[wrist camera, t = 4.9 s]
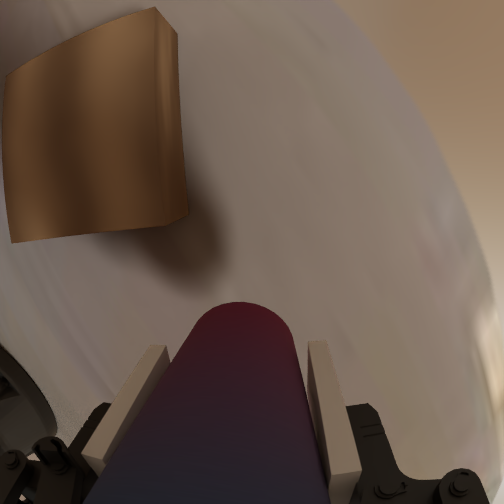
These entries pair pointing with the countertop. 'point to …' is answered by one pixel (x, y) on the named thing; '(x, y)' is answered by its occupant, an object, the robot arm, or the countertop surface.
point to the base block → (96, 133)
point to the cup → (222, 422)
